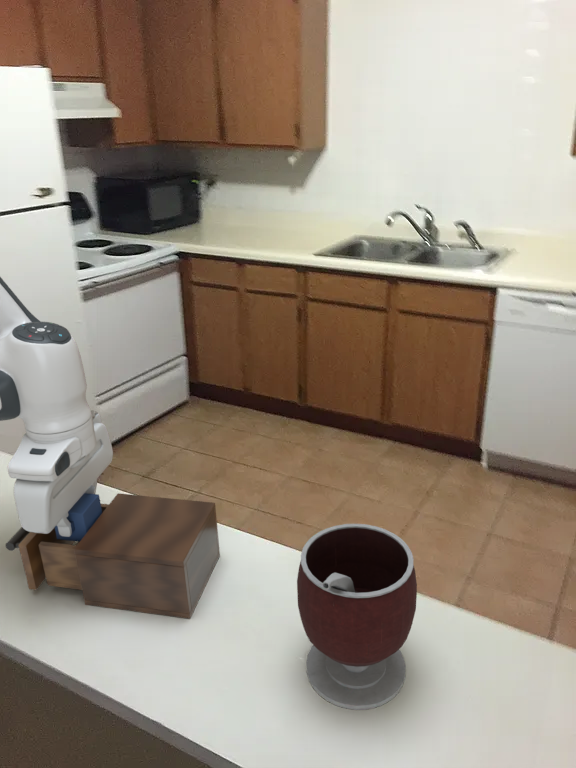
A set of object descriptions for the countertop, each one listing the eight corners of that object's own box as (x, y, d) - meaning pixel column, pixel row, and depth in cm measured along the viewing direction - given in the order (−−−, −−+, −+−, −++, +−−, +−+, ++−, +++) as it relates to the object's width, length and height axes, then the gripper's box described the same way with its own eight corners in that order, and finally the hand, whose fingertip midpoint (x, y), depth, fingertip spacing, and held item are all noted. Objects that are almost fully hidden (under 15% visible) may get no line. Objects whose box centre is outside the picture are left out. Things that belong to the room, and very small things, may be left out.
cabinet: (84, 604, 95) (73, 548, 91) (126, 544, 107) (117, 493, 103) (190, 618, 92) (183, 561, 88) (220, 555, 104) (215, 502, 100)
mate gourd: (327, 614, 92) (326, 490, 84) (426, 647, 86) (435, 518, 78) (274, 699, 79) (265, 564, 71) (385, 745, 73) (390, 604, 65)
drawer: (1, 585, 98) (-11, 541, 95) (46, 533, 109) (37, 492, 106) (122, 601, 94) (114, 556, 91) (156, 545, 105) (150, 503, 102)
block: (56, 539, 97) (50, 510, 95) (73, 519, 102) (68, 491, 99) (88, 542, 96) (82, 513, 94) (104, 522, 100) (99, 494, 98)
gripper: (78, 403, 102) (92, 480, 108) (-2, 474, 84) (20, 562, 90) (116, 406, 101) (128, 484, 107) (43, 478, 83) (63, 567, 88)
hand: (78, 520), depth 98 cm, fingers closed on block, 5 cm apart
